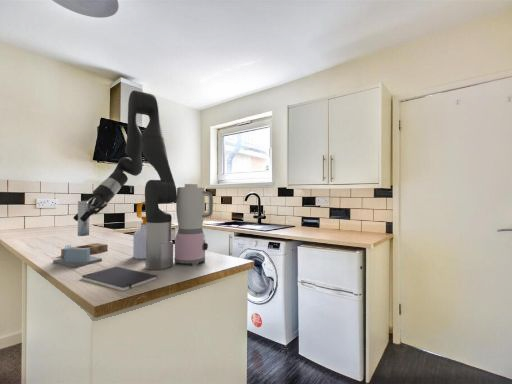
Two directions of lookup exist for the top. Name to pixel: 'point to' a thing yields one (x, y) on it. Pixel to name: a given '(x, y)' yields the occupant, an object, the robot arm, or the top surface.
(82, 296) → the top surface
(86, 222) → the axle
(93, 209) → the robot arm
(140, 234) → the soap bottle
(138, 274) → the notebook
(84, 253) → the v block
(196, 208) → the blender
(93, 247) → the beam
